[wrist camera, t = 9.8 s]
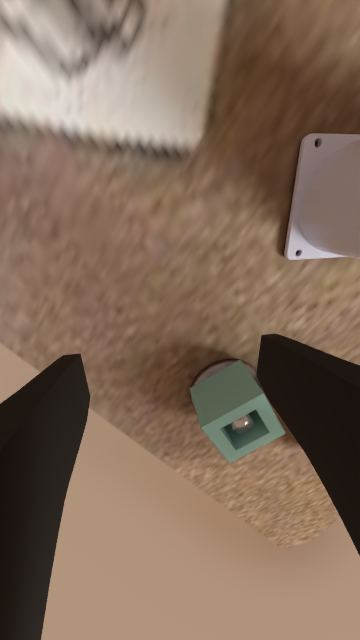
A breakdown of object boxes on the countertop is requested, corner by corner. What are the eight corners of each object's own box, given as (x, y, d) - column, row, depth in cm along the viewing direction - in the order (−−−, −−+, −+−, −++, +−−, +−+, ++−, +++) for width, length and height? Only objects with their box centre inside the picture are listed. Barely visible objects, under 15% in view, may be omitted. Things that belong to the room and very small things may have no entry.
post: (262, 355, 23) (289, 386, 19) (254, 410, 25) (276, 448, 21) (190, 363, 22) (201, 398, 18) (190, 420, 25) (200, 460, 20)
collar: (240, 359, 22) (263, 393, 18) (260, 396, 24) (285, 433, 20) (189, 388, 22) (200, 427, 18) (214, 421, 24) (229, 463, 20)
